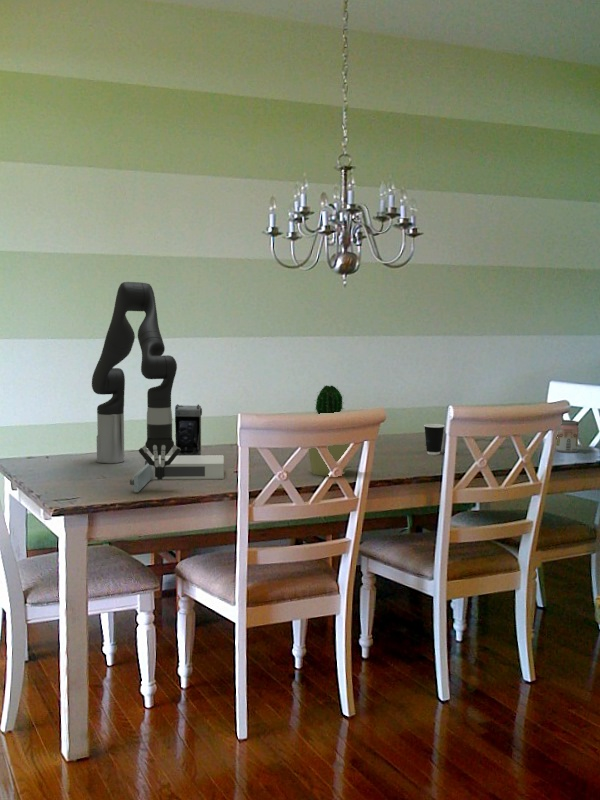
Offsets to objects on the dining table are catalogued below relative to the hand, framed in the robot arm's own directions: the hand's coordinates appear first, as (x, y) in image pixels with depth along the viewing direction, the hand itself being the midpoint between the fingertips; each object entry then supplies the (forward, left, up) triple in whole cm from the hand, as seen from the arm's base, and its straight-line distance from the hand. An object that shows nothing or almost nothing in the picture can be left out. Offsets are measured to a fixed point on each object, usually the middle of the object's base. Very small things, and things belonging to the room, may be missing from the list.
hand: (160, 478), depth 262 cm
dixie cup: (+99, +61, -3) cm, 117 cm away
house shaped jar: (+153, +65, -3) cm, 166 cm away
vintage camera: (+6, +49, -3) cm, 50 cm away
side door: (-6, +5, -3) cm, 8 cm away
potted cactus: (+54, +24, -3) cm, 59 cm away
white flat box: (+7, +23, -3) cm, 25 cm away
